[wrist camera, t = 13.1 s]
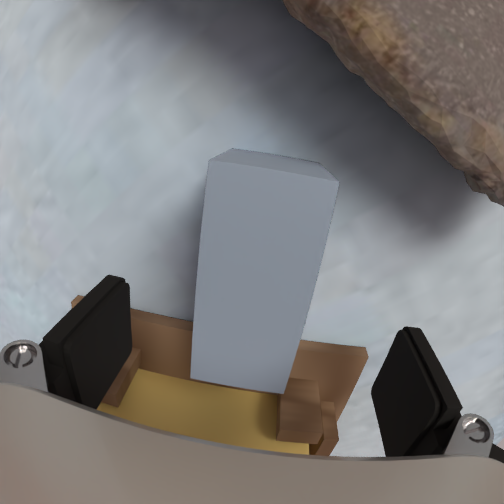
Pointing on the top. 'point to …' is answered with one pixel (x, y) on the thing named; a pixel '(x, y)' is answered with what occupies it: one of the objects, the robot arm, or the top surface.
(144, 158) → the top surface
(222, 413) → the tan toy brick
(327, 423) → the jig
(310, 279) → the grey rectangular block
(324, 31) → the stone slab
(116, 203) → the top surface
